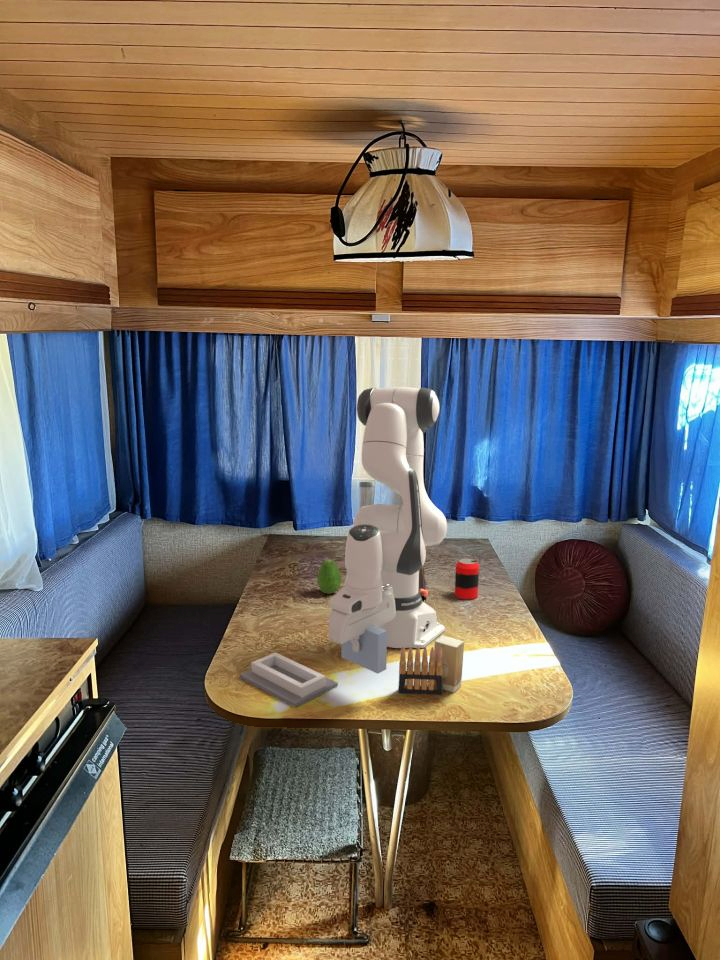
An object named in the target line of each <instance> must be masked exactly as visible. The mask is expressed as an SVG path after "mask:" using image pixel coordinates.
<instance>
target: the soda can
mask: <svg viewBox="0 0 720 960" xmlns="http://www.w3.org/2000/svg"><path fill="white" fill-rule="evenodd" d="M479 576H480V565H479V563H478V562H477V561H476V559H473V558H460V559H459V560H458V561H457V562H456V564H455V578H454V579H455V580H454V581H455V582H454V596H455V597H456V596H457V597H458V598H457V599H460V598H461V599H460V600H464V599H472V600H475V599H476V598H478V597H479V596H478V595H479V578H480V577H479ZM474 598H475V599H474Z"/></svg>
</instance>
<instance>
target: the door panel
mask: <svg viewBox="0 0 720 960" xmlns="http://www.w3.org/2000/svg"><path fill="white" fill-rule="evenodd" d="M358 642H359V643H361V644H362V650H361V651H359V652H355V651H353V644H352V643H351V641H350V640H349V641H347V642H345V643H343V644H340V645H341V647H340V648H341V651H340V652H341V659H344V660H346V661H348V662H351V663H353V664H355V665H358V666H360V667H361V668H364V669H366V670H369V671H370V672H372V673H375V674H378V675H379V674H380V673H383V672H384V671H386V670H387V653H388V652H387V648H388V647H387V631H386V630H384V629H381V628H379V627H376V626H374V625H373V626H371V627H369V628H367V629H365V633H364V634H362V635H360V636H359V639H358Z"/></svg>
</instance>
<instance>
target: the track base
mask: <svg viewBox="0 0 720 960" xmlns="http://www.w3.org/2000/svg"><path fill="white" fill-rule="evenodd" d="M250 665H251V669H248V670H247V671H244V672H241V673H240V674H239V679H241V680H242V681H245V682H247V683H249V684H250V683H251V685H252V684H253V685H252V686H254V687H257V688H258V689H259V690H262V691H264V692H265V693H267V694H268V695H271V696H272V697H275V698H277V699H279V700H280V701H282V702H284V703H285V704H288V705H289V704H290V705H289V706H291V705H292V707H293V706H294V707H293V708H295V707H296V708H298V707H300V706H301V704H302V705H303V704H306V703H307V702H310V701H311V700H314V699H316V698H317V697H319V696H322V695H323V694H325V693H327V692H329V691H332V690H333V688H334V689H336V688H337V686H338V685H339V684H338V682H337V681H334V680H333V679H330V678H328V677H327V675H324V674H322V673H320V672H318V671H317V670H313V669H311V668H309V667H308V666H305V665H303V664H301V663H299V662H297V661H295V660H292V659H291V658H288V657H286V656H285V655H282V654H280V653H278V652H273V653H270V654H268V655H266V656H263V657H261V658H259V659H256V660H254V661H251V664H250ZM335 687H336V688H335ZM299 705H300V706H299ZM297 706H298V707H297Z"/></svg>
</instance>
